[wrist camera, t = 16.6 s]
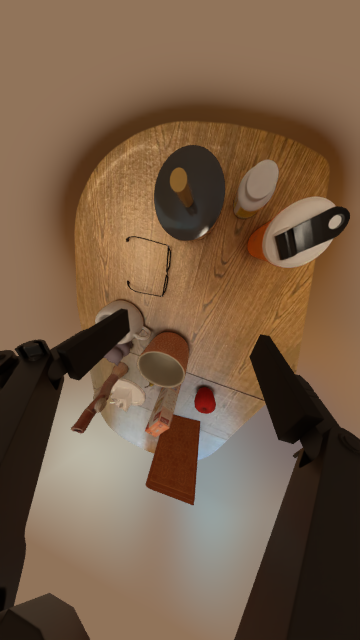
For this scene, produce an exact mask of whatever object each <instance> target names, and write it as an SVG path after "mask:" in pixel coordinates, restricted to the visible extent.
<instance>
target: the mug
mask: <svg viewBox="0 0 360 640" xmlns="http://www.w3.org/2000/svg"><path fill="white" fill-rule="evenodd" d="M121 308H122V309H127V310H128V316H129V325H130V332H129V333H128V334H127V335H126V336H125V337H124V338H123V339H122V340H121V341H120V342H119V343H118V344H124V343H127V342H129V341H131V340H132V339H134V338H137V339H139V340H146V339H148V338H150V336H151V332H150V330H149V329H148V328H146V327H144V326H143V324H144V322H143V317H142V315H141V313H140V311H139V310H138V309H137V308H136V307H135V306H134V305H133V304H131V303H129V302H127V301H122V300H118V301H114V302H111V303H110V304H108V305H107V306H105V307H104V308H103V309H101V310H100V312H99V313H98V315H97V316H96V320H95V322H96V324H97V323H98V322H100V321H102V320H103V319H105V318H106V317H108V316H110V315H111V314H113V313H114V312H116V311H118V310H119V309H121ZM141 330H145V331H146V332H147V336H139V335H138V334H139V333H140V332H141Z"/></svg>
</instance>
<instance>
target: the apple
mask: <svg viewBox="0 0 360 640" xmlns="http://www.w3.org/2000/svg"><path fill="white" fill-rule="evenodd" d="M194 402H195V408H196V409H197V410H198V411H199V412H201V413H205V414H208V413H211V412H213V411H214V410H215V406H216V402H215V398H214V395H213V392H212V391H211V390H210V389H209V388H207V387H202V388H200V389H199V390H198V392H197V394H196V397H195V400H194Z"/></svg>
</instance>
